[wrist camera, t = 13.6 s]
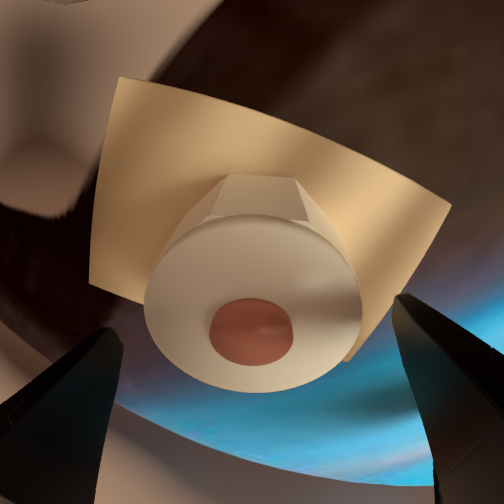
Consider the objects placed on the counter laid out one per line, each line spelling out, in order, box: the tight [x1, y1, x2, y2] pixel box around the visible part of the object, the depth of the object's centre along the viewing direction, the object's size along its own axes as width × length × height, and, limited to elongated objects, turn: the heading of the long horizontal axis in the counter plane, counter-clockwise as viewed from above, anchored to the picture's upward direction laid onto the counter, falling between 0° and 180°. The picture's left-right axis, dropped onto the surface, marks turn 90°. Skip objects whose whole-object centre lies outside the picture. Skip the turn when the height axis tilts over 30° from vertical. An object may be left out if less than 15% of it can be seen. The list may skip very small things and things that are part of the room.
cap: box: [144, 174, 363, 393], centre depth 11 cm, size 7×7×6 cm
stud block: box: [89, 77, 452, 362], centre depth 12 cm, size 16×11×5 cm
